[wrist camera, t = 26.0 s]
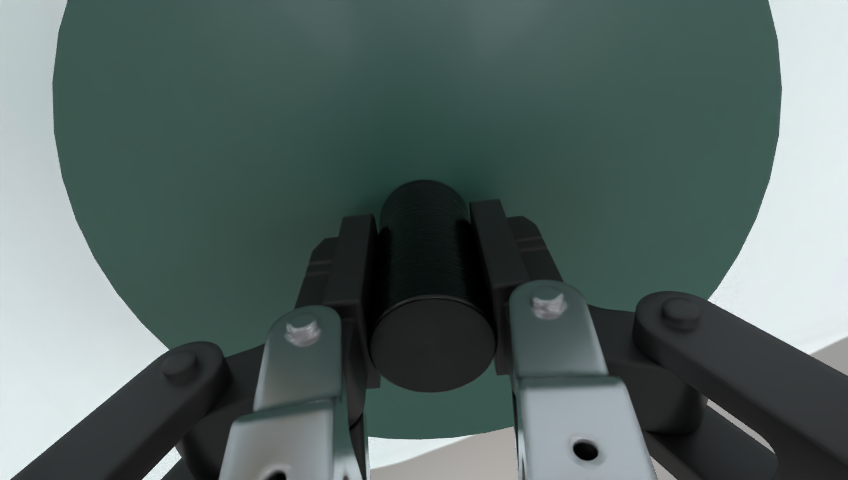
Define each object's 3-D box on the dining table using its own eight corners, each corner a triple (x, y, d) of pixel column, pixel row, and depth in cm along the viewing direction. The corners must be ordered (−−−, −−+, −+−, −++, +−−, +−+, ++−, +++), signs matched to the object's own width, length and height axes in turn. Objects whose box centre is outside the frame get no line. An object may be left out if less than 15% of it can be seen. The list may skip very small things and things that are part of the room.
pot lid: (218, 437, 19) (146, 620, 14) (-94, -160, 10) (-702, -301, 4) (690, 389, 18) (803, 561, 13) (858, -302, 9) (1495, -663, 4)
